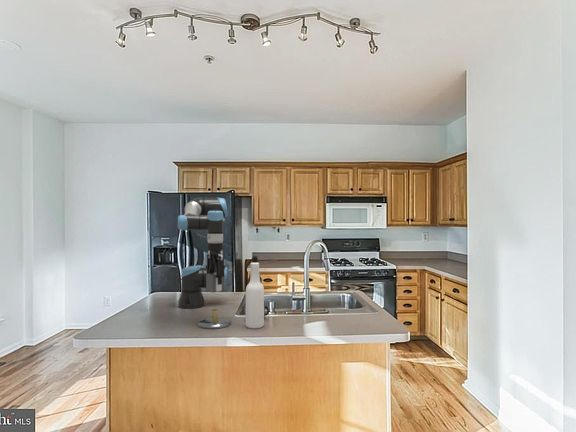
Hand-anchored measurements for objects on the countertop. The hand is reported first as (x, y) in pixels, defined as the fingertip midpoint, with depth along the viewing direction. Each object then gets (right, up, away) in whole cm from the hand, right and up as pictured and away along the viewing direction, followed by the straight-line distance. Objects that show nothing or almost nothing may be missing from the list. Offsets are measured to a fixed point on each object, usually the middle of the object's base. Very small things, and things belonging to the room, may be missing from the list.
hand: (215, 290), depth 178 cm
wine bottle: (+16, -17, +34) cm, 41 cm away
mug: (+20, -17, +8) cm, 28 cm away
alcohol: (+20, -17, -4) cm, 26 cm away
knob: (0, 0, 0) cm, 0 cm away
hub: (0, -17, 0) cm, 17 cm away
